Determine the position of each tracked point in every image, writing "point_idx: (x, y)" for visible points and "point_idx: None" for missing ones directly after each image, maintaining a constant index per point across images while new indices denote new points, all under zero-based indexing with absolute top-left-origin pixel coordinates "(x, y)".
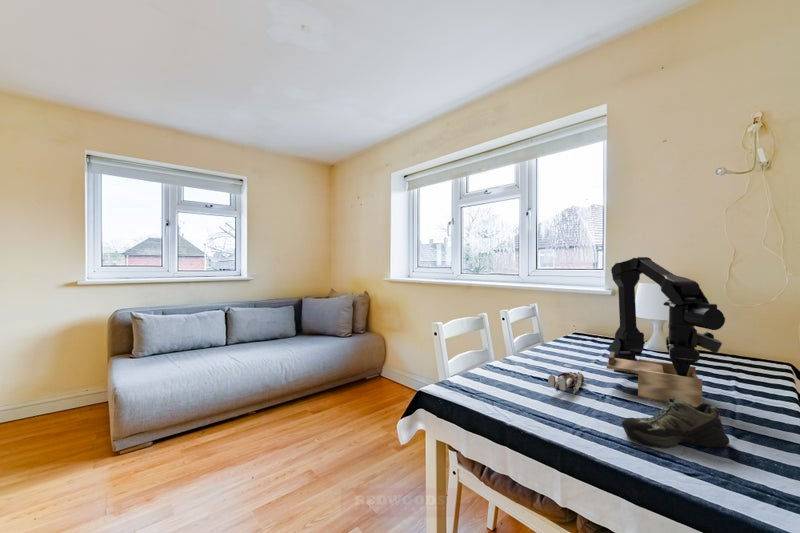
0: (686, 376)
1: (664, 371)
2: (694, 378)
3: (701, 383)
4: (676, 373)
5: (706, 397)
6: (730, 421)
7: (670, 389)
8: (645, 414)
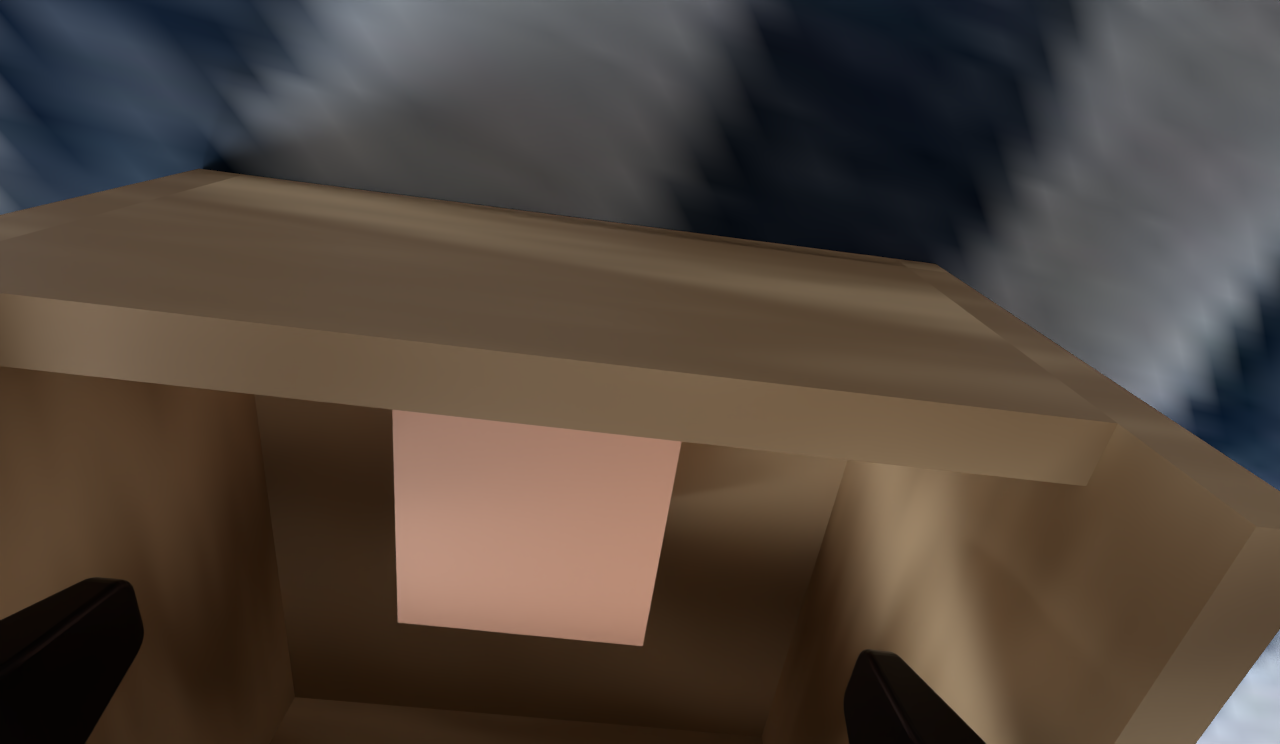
0: (55, 399)
1: (111, 712)
2: (1227, 670)
3: (1239, 484)
4: (68, 564)
5: (286, 37)
6: (1262, 16)
7: None
8: (1202, 734)
